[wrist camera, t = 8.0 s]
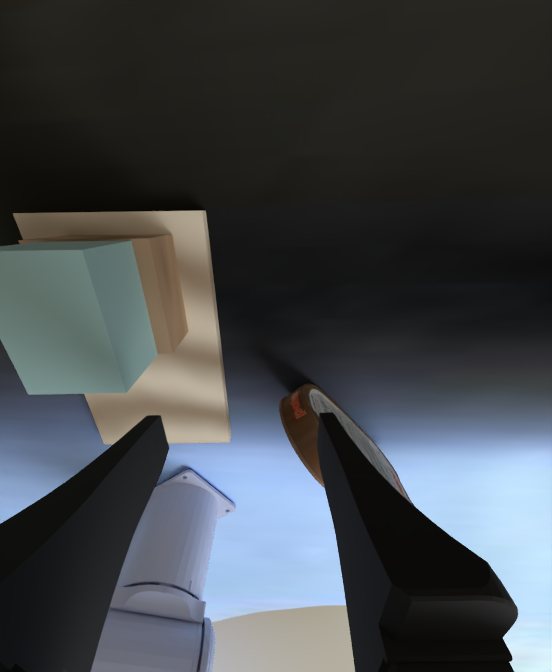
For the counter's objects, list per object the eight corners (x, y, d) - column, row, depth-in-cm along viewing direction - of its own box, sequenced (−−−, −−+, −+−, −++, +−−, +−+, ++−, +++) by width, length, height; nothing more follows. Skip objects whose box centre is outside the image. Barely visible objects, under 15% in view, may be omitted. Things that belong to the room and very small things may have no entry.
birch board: (231, 434, 26) (229, 442, 25) (110, 436, 26) (104, 444, 25) (205, 210, 18) (202, 210, 17) (26, 213, 18) (12, 213, 17)
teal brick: (80, 356, 17) (28, 394, 13) (38, 242, 14) (-44, 251, 10) (157, 354, 17) (126, 392, 13) (131, 240, 14) (82, 249, 10)
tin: (275, 381, 23) (276, 462, 16) (303, 360, 23) (318, 435, 15) (368, 467, 28) (403, 561, 21) (393, 453, 27) (440, 546, 20)
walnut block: (97, 332, 20) (64, 354, 17) (65, 235, 17) (18, 240, 14) (188, 331, 20) (172, 353, 17) (172, 233, 17) (149, 238, 14)
